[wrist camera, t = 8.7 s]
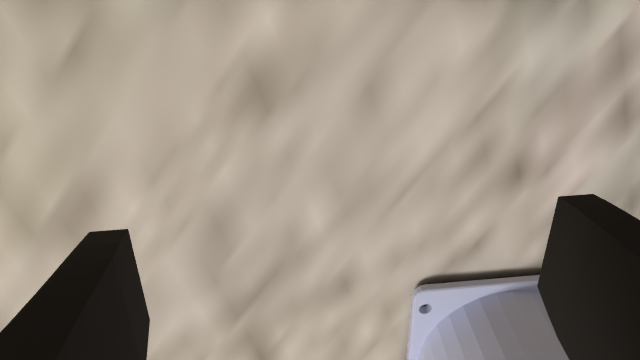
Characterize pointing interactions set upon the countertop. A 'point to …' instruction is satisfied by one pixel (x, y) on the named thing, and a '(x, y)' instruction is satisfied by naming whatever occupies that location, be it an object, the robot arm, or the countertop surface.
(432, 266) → the countertop surface
